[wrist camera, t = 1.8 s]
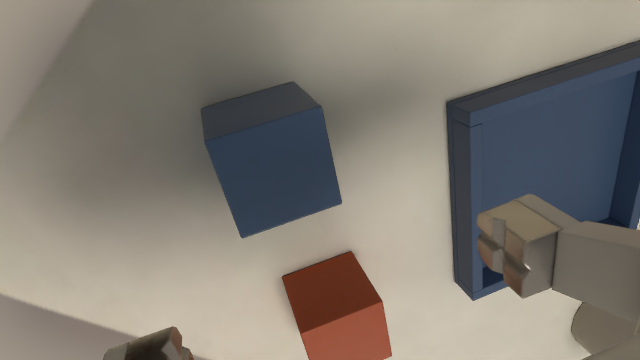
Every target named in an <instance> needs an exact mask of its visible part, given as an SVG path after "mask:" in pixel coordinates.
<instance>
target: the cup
mask: <svg viewBox="0 0 640 360" xmlns="http://www.w3.org/2000/svg"><path fill="white" fill-rule="evenodd" d="M636 326H637V323H634V322H632V321H629V320H627V319H624V318H622V317H620V316H617V315H615V314H612V313H610V312H607V311H605V310H602V309H600V308H597V307H595V306H592V305H590V304H587V303H585V302H583V304H582V305H581V307H580V308H579V310H578V311H577V313H576V314H575V316H574V320H573V324H572V329H571V331H572V333H573V335H574V338H575V340H576V341H577V342H578V343H580V344H581V345H582V346H583V347H584V348H585V349H586V350H587V351H588V352H589V353H591V354H592V355H593V354H595V353H597V352H599V351H602V350H604V349H606V348H608V347H610V346H612V345H615V344H617V343H619V342H621V341H623V340H626V339H628V338H630V337H632V336H634V333H635V330H636Z"/></svg>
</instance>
